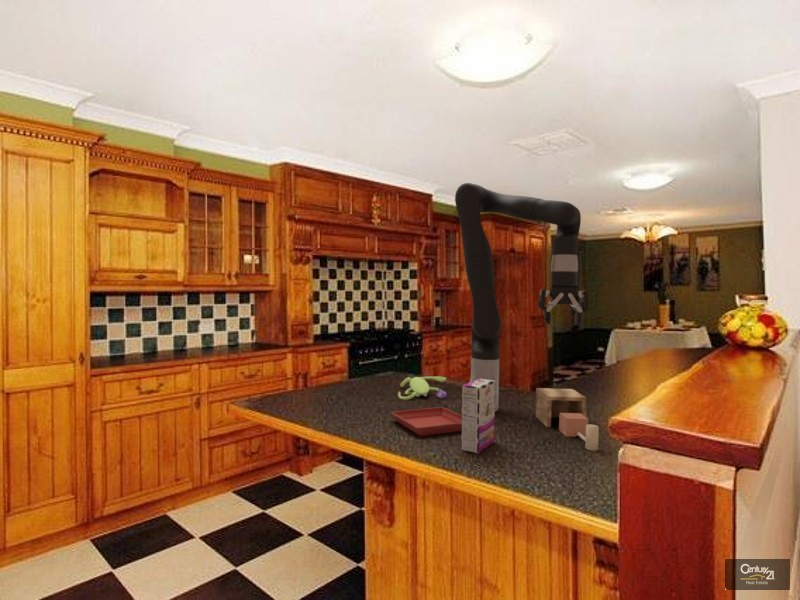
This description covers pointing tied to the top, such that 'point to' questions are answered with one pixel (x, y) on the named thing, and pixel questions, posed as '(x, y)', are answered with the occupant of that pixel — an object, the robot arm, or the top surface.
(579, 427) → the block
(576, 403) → the shelf cubby
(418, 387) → the figurine
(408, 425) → the plant saucer
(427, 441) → the top surface
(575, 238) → the robot arm
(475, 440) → the candy bar box
